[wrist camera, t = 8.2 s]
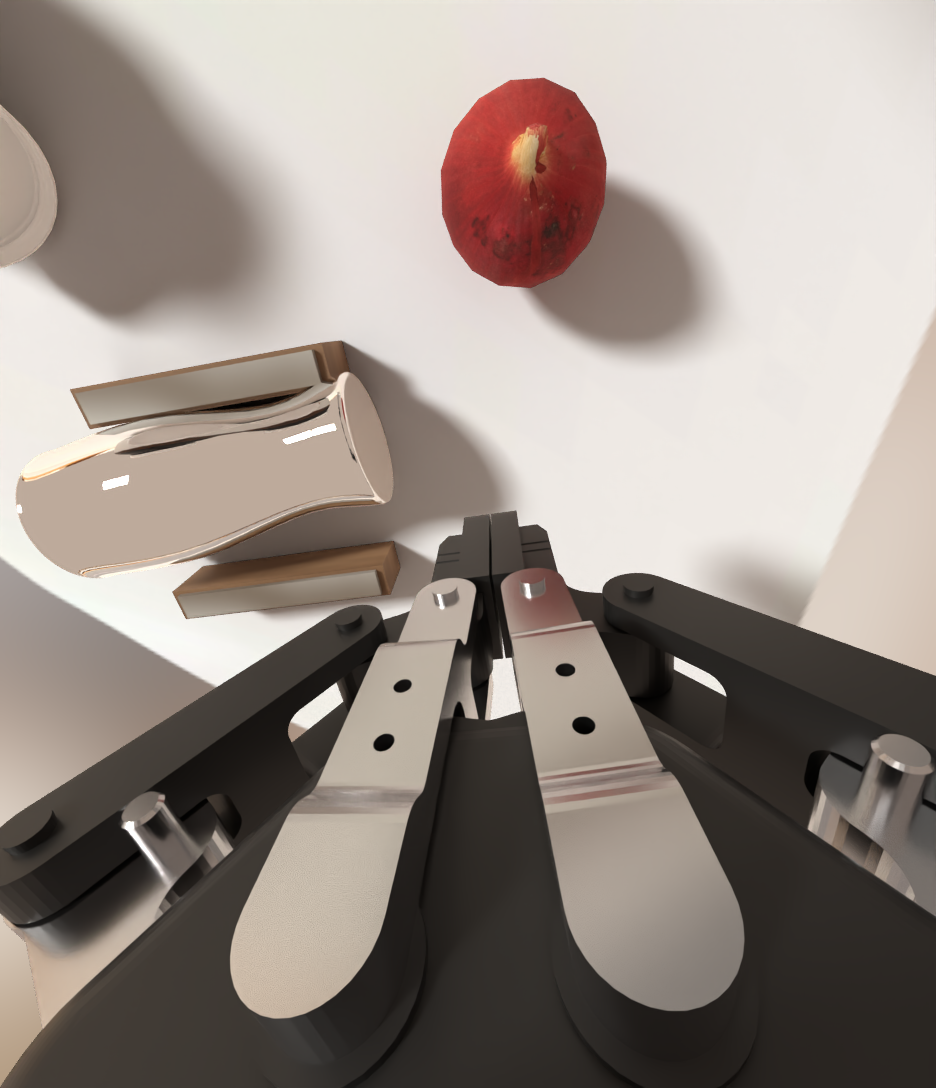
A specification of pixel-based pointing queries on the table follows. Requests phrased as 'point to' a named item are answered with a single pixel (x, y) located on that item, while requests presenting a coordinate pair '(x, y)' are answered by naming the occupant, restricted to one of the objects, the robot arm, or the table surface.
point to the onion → (523, 182)
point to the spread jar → (23, 193)
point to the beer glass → (203, 479)
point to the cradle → (231, 384)
